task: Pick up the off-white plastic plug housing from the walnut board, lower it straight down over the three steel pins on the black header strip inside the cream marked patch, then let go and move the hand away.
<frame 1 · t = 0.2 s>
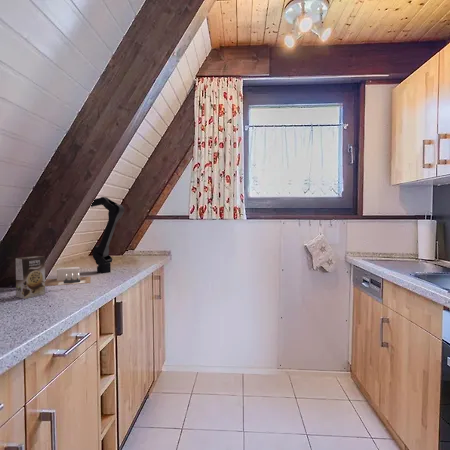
hand: (49, 246, 194), 15 cm above the worktop, tool tilted 30°, fingers open, 9 cm apart
cookie box: (31, 296, 147), on the worktop
pin header: (72, 285, 165), resting on header board
header board: (68, 284, 168), on the worktop
plug housing: (68, 279, 172), point 1 cm above the worktop, touching header board
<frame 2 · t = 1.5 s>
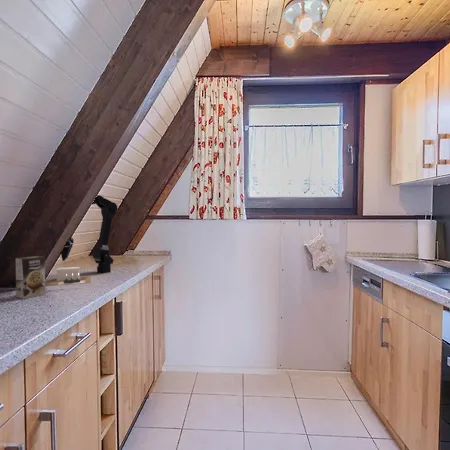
hand: (64, 259, 172), 11 cm above the worktop, tool pointing down, fingers open, 9 cm apart
nothing on the worktop moved.
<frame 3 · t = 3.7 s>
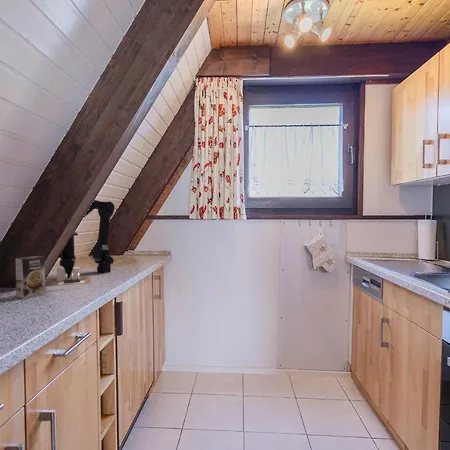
hand: (68, 277, 172), 3 cm above the worktop, tool pointing down, fingers closed on plug housing, 5 cm apart
plug housing: (68, 279, 172), point 1 cm above the worktop, touching gripper, header board
everything else where it was.
when the fingers open (3 cm above the worktop, at t = 7.6 s): plug housing stays where it is, resting on header board.
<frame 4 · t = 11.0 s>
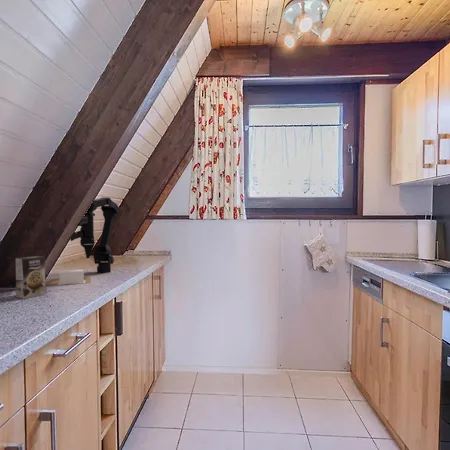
hand: (87, 257, 174), 12 cm above the worktop, tool pointing down, fingers open, 9 cm apart
plug housing: (72, 282, 165), point 2 cm above the worktop, touching header board
everything else where it was.
at the end: plug housing 0.0 cm off-centre on the pin header, point 1.6 cm above the pin header's base; plug housing tilted 0°; the gripper is holding nothing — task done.
